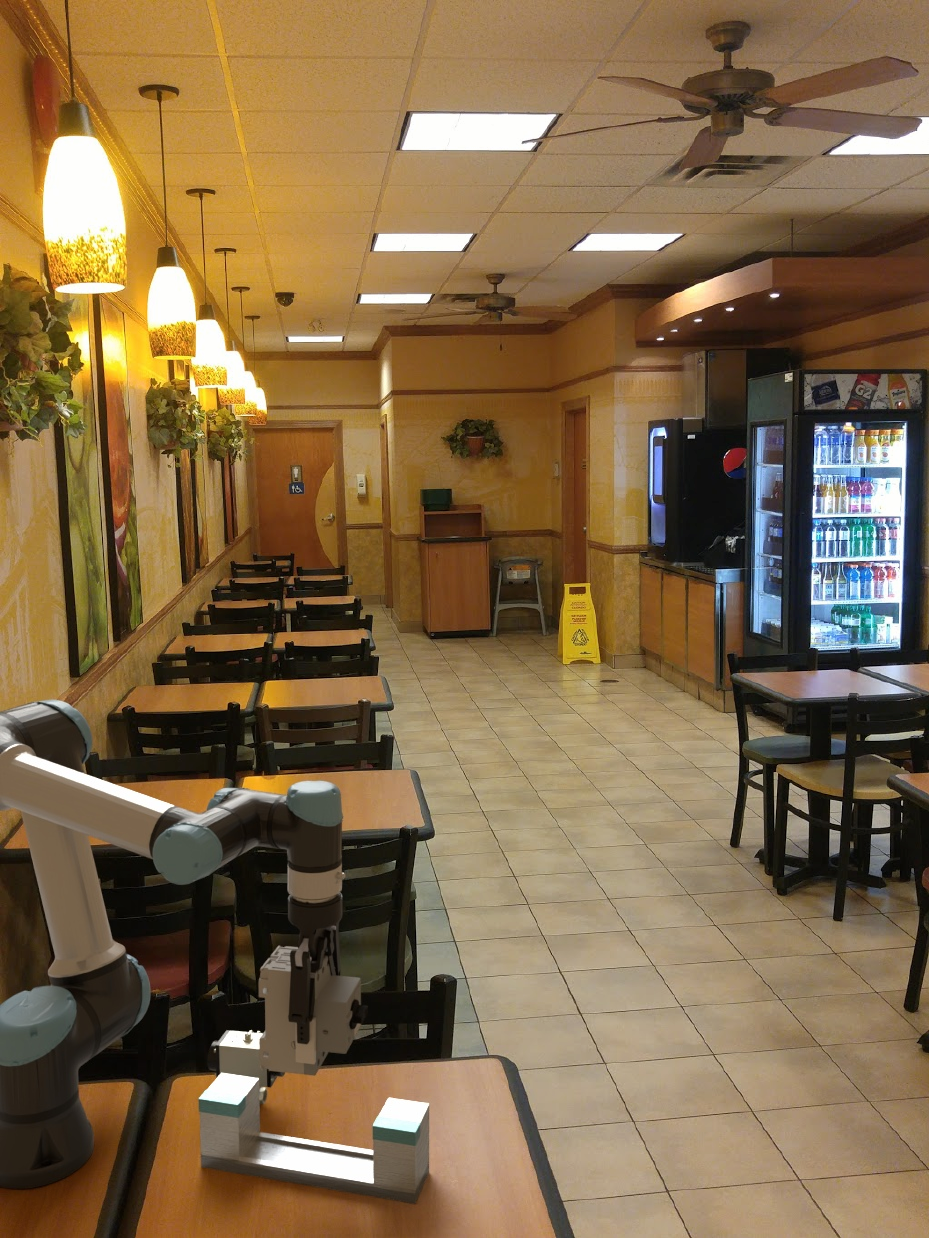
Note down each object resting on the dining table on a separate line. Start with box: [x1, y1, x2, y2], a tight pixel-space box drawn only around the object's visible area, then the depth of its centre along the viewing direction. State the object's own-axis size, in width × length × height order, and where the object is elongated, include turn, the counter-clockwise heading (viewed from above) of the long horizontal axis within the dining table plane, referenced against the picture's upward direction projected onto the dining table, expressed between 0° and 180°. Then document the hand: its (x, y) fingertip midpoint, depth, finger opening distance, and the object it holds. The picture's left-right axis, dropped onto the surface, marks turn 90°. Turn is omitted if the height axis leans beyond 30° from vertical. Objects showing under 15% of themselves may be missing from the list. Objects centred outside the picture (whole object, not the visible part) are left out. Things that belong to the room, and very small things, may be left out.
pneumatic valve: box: [207, 1029, 286, 1105], centre depth 171 cm, size 6×12×12 cm, turn 81°
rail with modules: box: [198, 1073, 430, 1205], centre depth 154 cm, size 32×7×11 cm, turn 76°
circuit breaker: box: [258, 945, 369, 1077], centre depth 154 cm, size 8×14×15 cm, turn 80°
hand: (316, 1046), depth 154 cm, fingers closed on circuit breaker, 8 cm apart
